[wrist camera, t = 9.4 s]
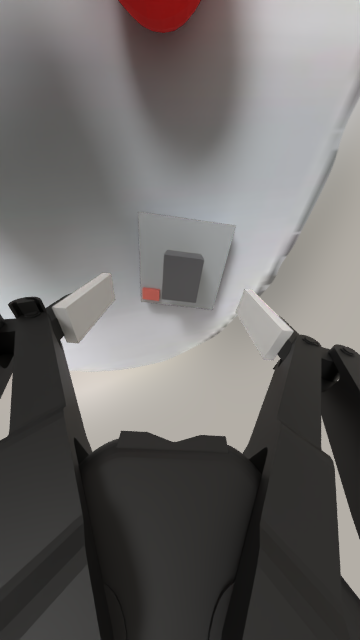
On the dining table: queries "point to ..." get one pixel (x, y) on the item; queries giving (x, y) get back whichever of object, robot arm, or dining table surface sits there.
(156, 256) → the socket plate
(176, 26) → the tomato
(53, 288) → the dining table surface
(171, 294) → the plug
